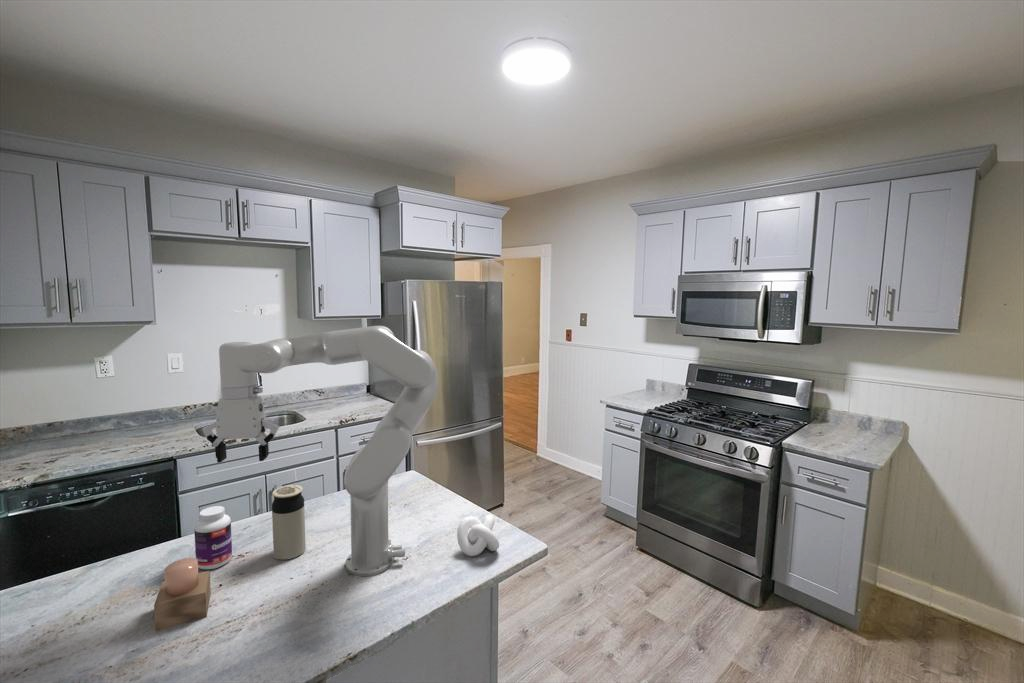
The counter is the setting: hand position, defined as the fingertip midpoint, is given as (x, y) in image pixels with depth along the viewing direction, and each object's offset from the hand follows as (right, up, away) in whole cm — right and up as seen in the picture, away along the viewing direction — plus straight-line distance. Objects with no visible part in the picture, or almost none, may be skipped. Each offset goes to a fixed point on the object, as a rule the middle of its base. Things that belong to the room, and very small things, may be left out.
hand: (242, 459), depth 112 cm
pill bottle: (-12, -30, +8) cm, 33 cm away
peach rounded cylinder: (-7, -26, -11) cm, 29 cm away
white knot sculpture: (+59, -30, +15) cm, 67 cm away
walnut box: (-7, -32, -11) cm, 34 cm away
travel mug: (+5, -29, +13) cm, 32 cm away
